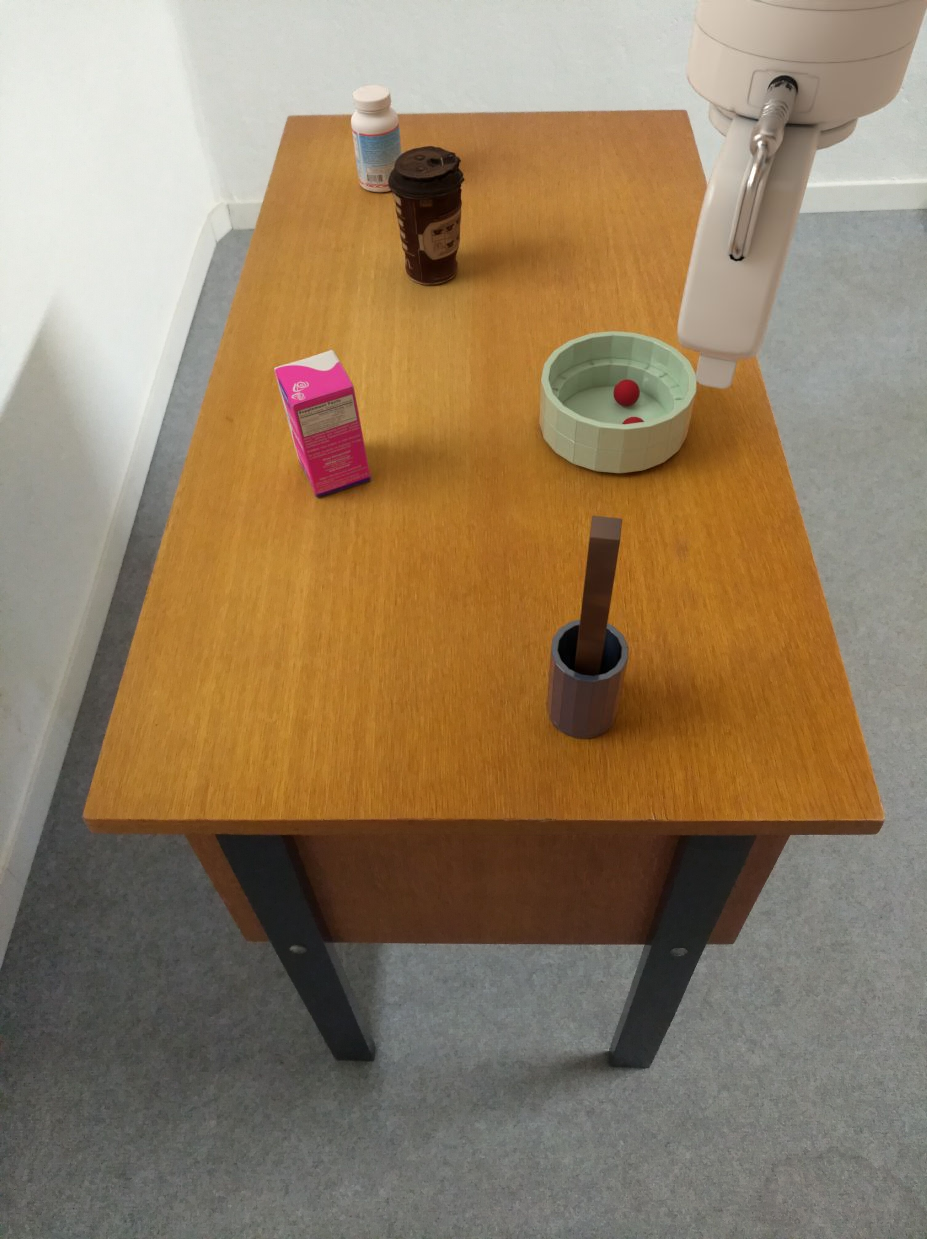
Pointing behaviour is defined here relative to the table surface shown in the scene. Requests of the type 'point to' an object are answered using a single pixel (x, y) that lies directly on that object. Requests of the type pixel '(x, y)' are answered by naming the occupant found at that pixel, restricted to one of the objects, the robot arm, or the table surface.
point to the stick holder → (585, 684)
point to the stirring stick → (597, 593)
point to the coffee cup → (428, 211)
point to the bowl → (591, 418)
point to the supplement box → (324, 422)
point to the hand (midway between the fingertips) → (731, 325)
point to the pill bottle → (375, 136)
